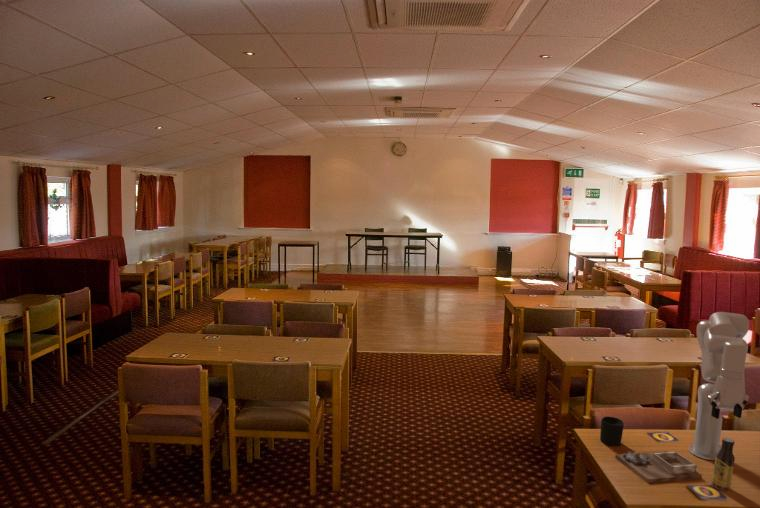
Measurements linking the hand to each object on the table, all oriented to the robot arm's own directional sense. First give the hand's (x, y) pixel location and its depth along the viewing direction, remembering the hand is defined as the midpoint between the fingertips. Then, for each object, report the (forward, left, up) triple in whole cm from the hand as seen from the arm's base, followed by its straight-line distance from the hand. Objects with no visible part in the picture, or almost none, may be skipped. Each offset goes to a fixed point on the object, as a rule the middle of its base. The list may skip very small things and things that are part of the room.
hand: (725, 416), depth 214 cm
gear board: (+14, -16, -28) cm, 35 cm away
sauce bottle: (-1, +1, -29) cm, 29 cm away
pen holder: (+19, -40, -29) cm, 53 cm away
